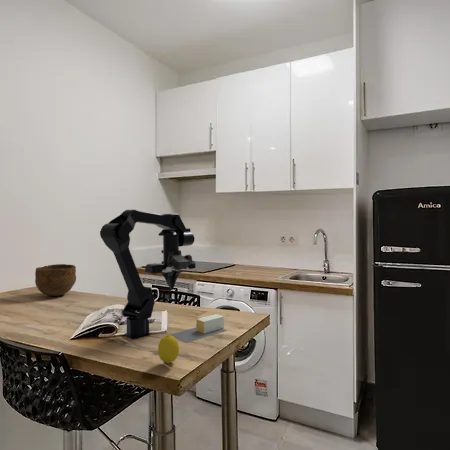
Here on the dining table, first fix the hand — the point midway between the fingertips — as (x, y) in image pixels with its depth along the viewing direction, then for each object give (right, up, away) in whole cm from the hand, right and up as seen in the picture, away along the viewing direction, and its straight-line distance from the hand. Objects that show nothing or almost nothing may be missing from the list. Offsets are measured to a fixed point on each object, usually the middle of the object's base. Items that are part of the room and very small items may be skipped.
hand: (171, 289), depth 128 cm
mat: (+11, -13, -11) cm, 20 cm away
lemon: (+5, -14, -35) cm, 38 cm away
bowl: (-65, -12, +47) cm, 81 cm away
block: (+11, -10, -11) cm, 19 cm away
